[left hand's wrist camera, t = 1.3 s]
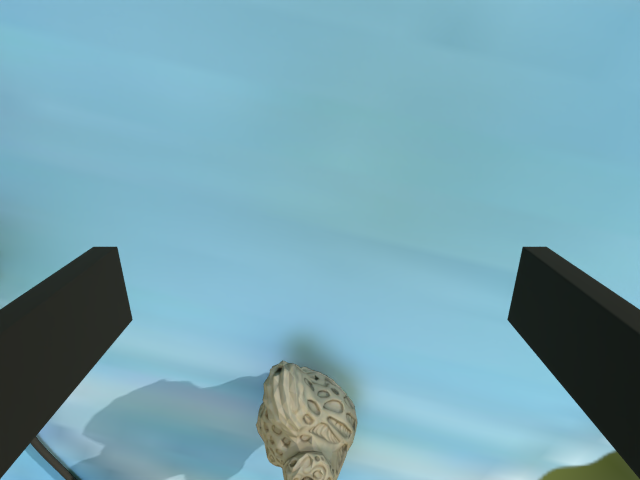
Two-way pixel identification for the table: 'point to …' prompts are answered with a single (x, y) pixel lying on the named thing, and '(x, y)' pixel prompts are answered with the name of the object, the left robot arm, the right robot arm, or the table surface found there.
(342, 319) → the table surface
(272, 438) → the teapot
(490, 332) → the table surface
